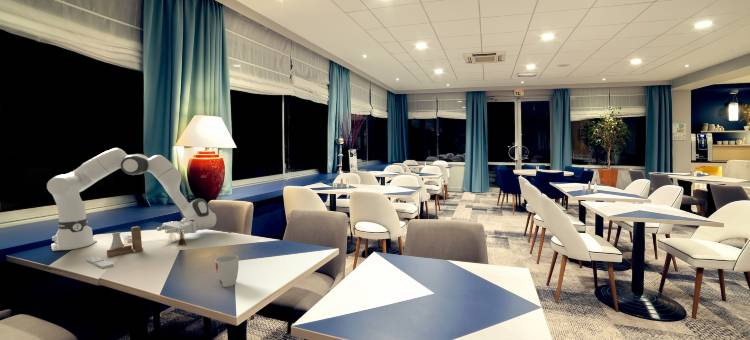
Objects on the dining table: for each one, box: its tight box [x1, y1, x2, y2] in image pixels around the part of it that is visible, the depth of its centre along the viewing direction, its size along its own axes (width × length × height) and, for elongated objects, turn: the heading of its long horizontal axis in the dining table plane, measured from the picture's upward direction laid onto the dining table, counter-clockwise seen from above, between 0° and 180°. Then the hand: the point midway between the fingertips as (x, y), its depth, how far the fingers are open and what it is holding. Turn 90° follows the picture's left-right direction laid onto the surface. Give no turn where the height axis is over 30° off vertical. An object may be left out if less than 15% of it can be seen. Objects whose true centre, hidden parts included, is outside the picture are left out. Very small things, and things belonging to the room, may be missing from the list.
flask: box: [109, 231, 124, 250], centre depth 177 cm, size 7×7×10 cm
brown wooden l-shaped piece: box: [106, 225, 144, 258], centre depth 179 cm, size 20×14×12 cm
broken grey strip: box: [85, 255, 114, 269], centre depth 162 cm, size 20×4×1 cm, turn 55°
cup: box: [214, 254, 240, 288], centre depth 134 cm, size 8×8×10 cm
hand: (161, 230), depth 188 cm, fingers open, 8 cm apart
